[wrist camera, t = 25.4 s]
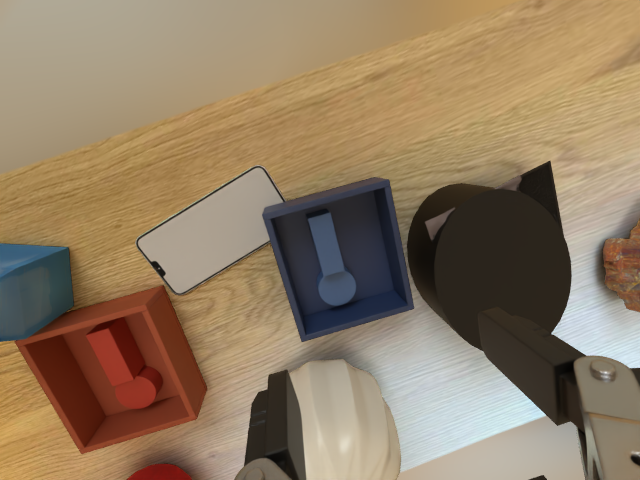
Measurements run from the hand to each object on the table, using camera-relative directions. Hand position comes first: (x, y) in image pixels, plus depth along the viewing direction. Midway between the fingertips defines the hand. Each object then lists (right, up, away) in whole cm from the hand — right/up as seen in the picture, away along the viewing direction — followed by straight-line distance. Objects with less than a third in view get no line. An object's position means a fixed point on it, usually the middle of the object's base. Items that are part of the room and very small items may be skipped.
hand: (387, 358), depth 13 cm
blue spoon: (-2, +3, +21) cm, 21 cm away
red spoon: (-23, -8, +21) cm, 32 cm away
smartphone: (-13, +6, +20) cm, 24 cm away
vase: (-3, -14, +25) cm, 29 cm away
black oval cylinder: (+15, +3, +23) cm, 28 cm away
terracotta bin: (-23, -8, +21) cm, 32 cm away
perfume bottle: (-30, +1, +18) cm, 36 cm away
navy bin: (-1, +4, +21) cm, 21 cm away
